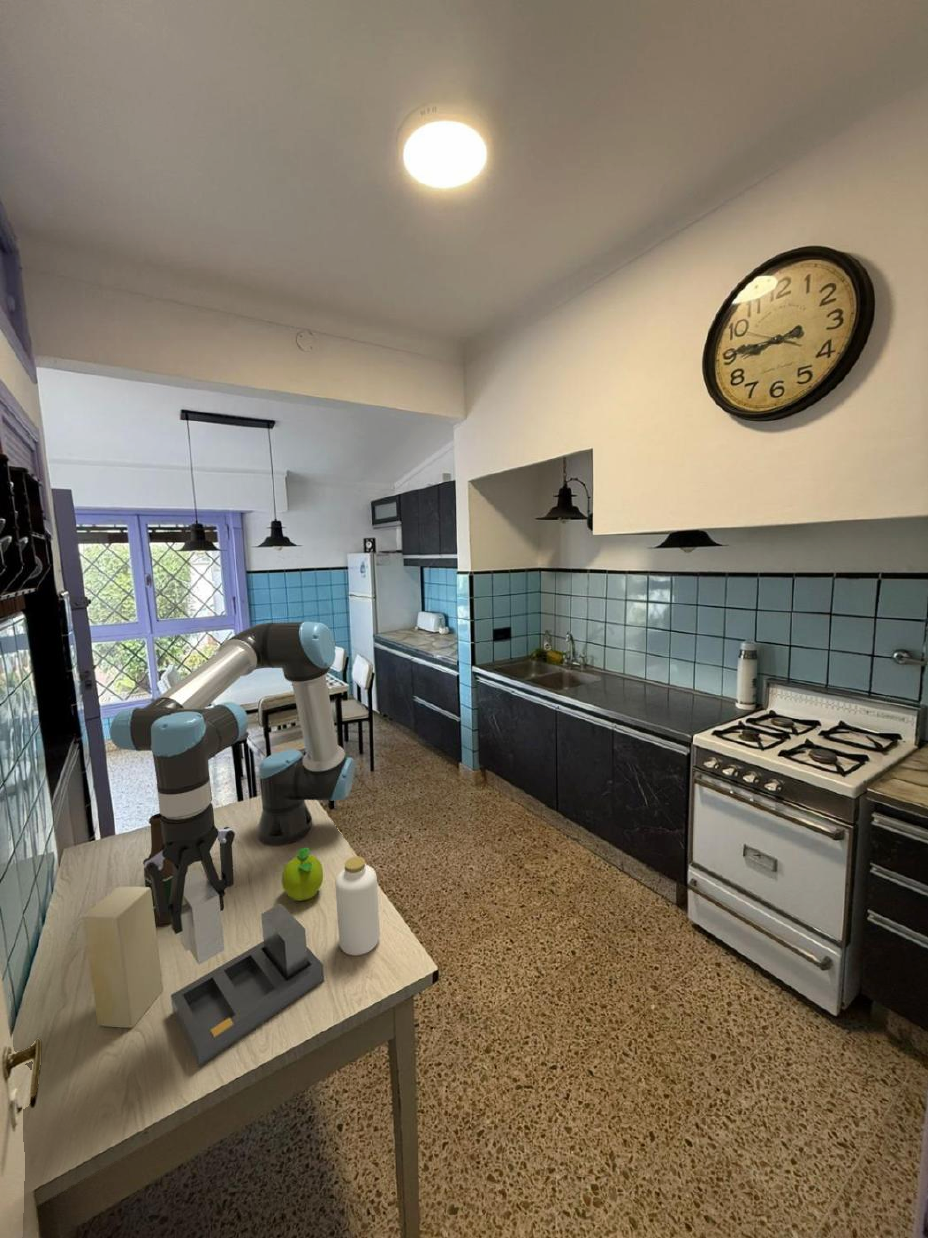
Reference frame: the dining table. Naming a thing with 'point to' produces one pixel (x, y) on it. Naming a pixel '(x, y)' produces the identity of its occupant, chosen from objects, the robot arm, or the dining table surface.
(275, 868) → the dining table surface
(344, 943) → the potion bottle
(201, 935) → the silver rectangular block
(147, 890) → the cream tall block
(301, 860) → the fruit
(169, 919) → the beer bottle
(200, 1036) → the rack
